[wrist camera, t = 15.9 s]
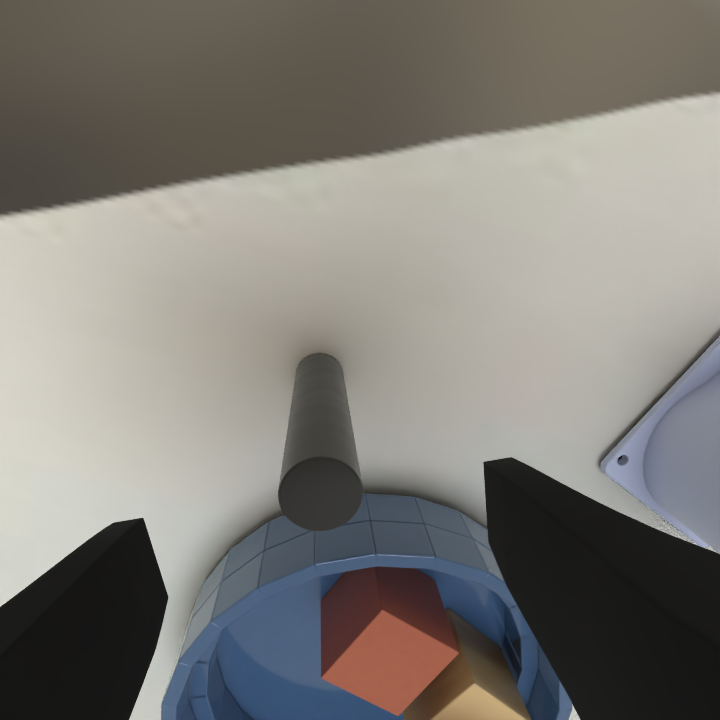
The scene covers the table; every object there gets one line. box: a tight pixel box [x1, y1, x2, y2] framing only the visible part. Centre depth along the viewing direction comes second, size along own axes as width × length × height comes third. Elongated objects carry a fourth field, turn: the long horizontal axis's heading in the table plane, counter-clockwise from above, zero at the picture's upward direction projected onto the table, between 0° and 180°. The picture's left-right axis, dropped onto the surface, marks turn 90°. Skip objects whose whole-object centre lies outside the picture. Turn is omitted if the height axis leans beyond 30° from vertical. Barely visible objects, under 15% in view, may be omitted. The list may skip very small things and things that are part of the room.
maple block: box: [402, 608, 531, 720], centre depth 22 cm, size 4×4×4 cm
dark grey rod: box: [278, 353, 363, 531], centre depth 15 cm, size 2×2×9 cm
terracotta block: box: [321, 567, 459, 716], centre depth 20 cm, size 4×4×4 cm
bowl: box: [161, 493, 572, 720], centre depth 21 cm, size 17×17×4 cm
